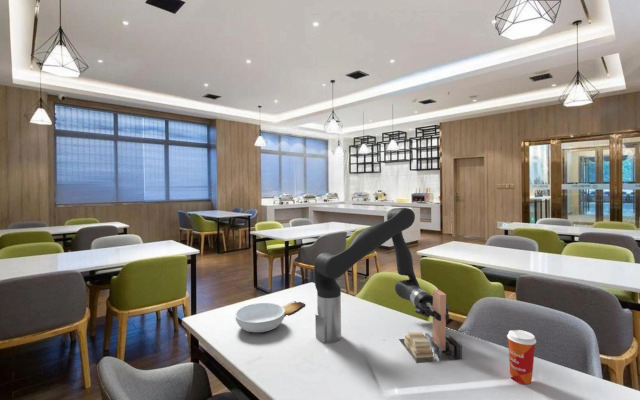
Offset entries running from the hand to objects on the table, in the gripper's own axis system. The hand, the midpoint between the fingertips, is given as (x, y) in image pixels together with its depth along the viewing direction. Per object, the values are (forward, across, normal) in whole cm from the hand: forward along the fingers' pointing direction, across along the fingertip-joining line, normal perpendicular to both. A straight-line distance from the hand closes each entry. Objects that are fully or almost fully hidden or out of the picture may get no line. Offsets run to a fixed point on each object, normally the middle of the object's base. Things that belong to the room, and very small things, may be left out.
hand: (443, 317), depth 115 cm
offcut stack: (-3, -7, +12) cm, 15 cm away
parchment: (-50, -54, +14) cm, 75 cm away
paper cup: (+16, +17, +14) cm, 27 cm away
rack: (-3, -4, +14) cm, 15 cm away
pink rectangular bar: (-3, 0, +12) cm, 12 cm away
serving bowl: (-33, -65, +14) cm, 74 cm away
